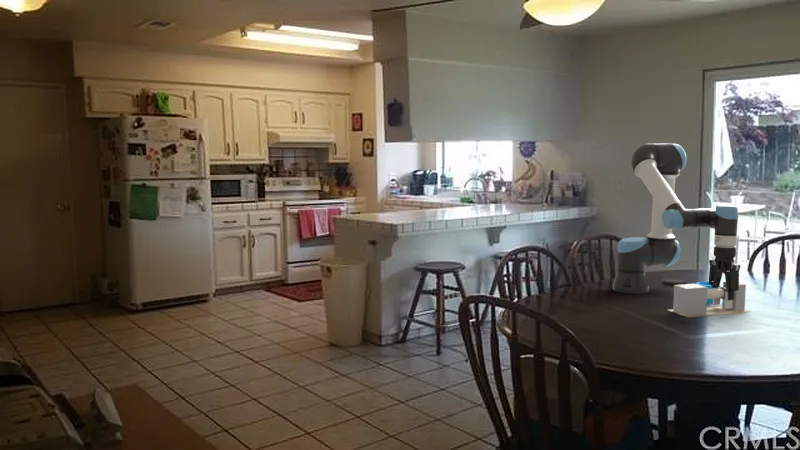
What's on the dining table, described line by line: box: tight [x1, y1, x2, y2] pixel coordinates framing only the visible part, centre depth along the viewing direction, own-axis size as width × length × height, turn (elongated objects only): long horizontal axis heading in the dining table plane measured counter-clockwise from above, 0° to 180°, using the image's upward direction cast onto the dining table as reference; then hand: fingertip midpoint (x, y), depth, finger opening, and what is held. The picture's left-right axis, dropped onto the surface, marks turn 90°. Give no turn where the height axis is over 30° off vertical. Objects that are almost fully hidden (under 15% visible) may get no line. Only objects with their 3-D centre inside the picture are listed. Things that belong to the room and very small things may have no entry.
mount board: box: [668, 304, 752, 318], centre depth 242 cm, size 12×28×1 cm, turn 104°
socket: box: [721, 281, 747, 311], centre depth 244 cm, size 4×7×10 cm, turn 14°
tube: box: [707, 286, 727, 300], centre depth 242 cm, size 18×4×4 cm, turn 104°
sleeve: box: [672, 283, 708, 316], centre depth 240 cm, size 9×7×10 cm
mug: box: [695, 281, 713, 304], centre depth 259 cm, size 12×8×8 cm
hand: (722, 306), depth 244 cm, fingers open, 5 cm apart
